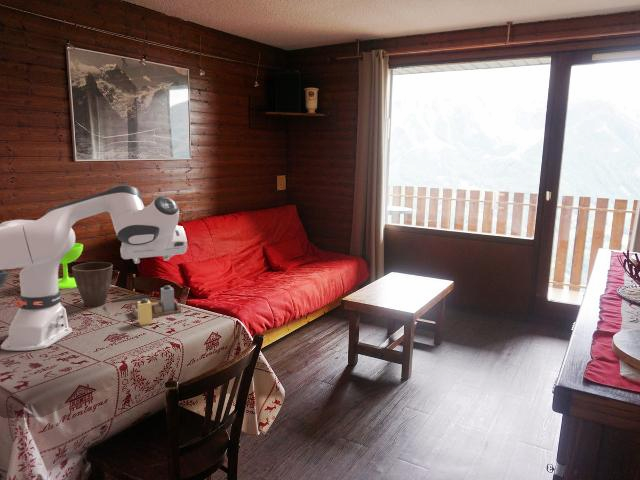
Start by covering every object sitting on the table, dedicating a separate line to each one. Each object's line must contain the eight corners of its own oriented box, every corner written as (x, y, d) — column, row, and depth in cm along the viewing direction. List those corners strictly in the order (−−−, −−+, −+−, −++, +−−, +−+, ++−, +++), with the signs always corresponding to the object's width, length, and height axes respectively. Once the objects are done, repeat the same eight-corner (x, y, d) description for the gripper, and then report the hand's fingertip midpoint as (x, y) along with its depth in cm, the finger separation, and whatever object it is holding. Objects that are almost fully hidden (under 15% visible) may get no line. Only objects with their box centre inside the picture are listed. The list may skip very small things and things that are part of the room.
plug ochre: (152, 326, 171) (151, 300, 169) (140, 328, 169) (139, 301, 167) (149, 323, 174) (148, 297, 172) (138, 325, 172) (137, 298, 170)
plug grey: (174, 311, 184) (173, 286, 182) (164, 313, 182) (163, 288, 180) (171, 308, 187) (170, 284, 185) (161, 310, 185) (160, 285, 183)
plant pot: (67, 309, 185) (64, 270, 182) (84, 297, 200) (82, 261, 197) (105, 310, 186) (103, 271, 183) (120, 298, 201) (118, 262, 198)
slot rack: (181, 315, 183) (181, 305, 182) (137, 322, 174) (136, 312, 173) (174, 308, 190) (174, 299, 190) (131, 315, 182) (131, 305, 181)
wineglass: (51, 280, 224) (48, 243, 221) (88, 278, 229) (85, 242, 226) (42, 289, 209) (39, 250, 206) (82, 287, 214) (79, 249, 211)
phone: (153, 299, 199) (116, 305, 190) (153, 302, 199) (116, 308, 190) (147, 294, 205) (110, 300, 196) (147, 297, 205) (110, 302, 196)
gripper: (124, 247, 139) (119, 271, 149) (192, 242, 150) (183, 265, 160) (120, 230, 142) (116, 255, 152) (187, 226, 153) (179, 249, 163)
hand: (151, 260), depth 156 cm, fingers open, 8 cm apart
